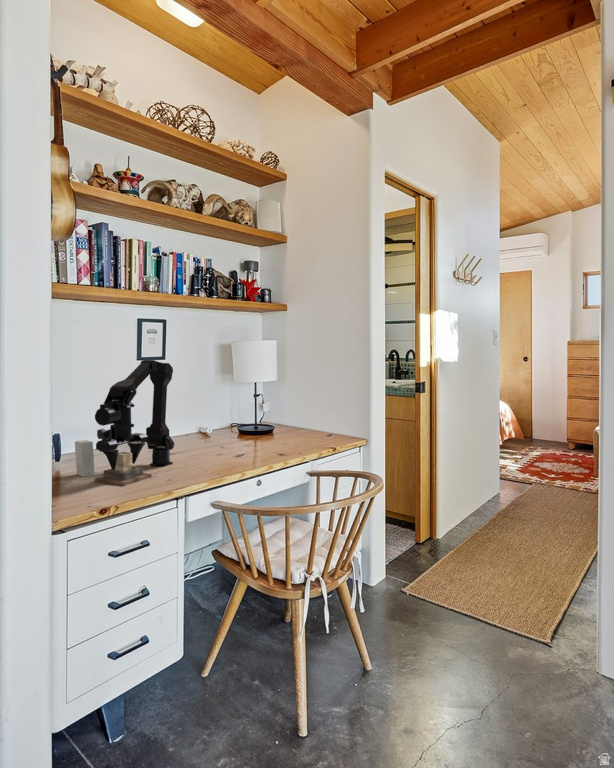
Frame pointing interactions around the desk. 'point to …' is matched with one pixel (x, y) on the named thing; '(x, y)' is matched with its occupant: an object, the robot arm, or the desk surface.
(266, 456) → the desk surface
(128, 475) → the socket holder
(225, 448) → the desk surface
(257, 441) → the desk surface
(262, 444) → the desk surface
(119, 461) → the maple peg
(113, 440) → the robot arm
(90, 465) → the skincare box
